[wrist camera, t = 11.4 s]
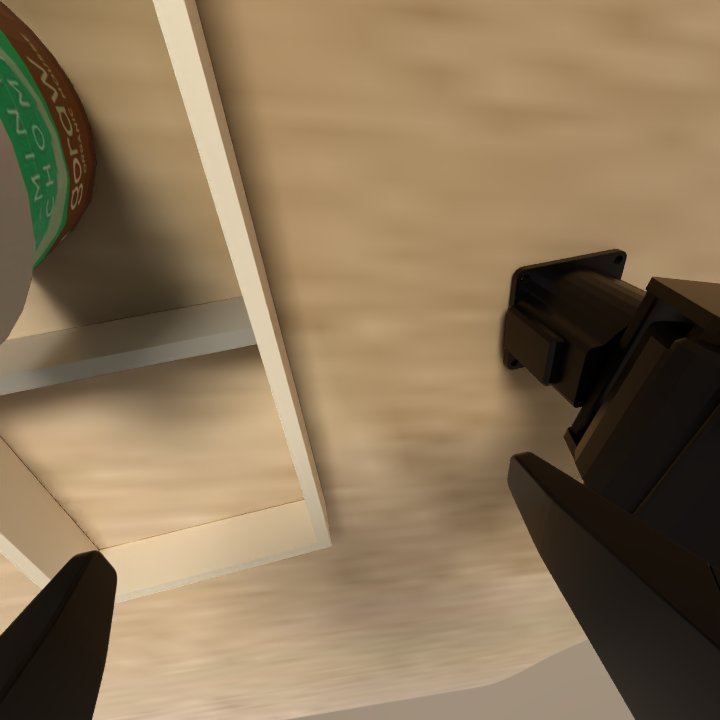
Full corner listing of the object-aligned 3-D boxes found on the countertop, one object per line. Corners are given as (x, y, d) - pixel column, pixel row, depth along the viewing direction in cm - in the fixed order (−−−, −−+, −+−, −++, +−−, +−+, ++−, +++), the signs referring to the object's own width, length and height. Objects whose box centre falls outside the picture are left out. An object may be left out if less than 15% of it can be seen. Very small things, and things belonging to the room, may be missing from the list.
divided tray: (129, -253, 10) (77, -394, 7) (324, 501, 28) (332, 546, 25) (-624, -228, 9) (-1073, -400, 6) (92, 559, 26) (70, 615, 23)
